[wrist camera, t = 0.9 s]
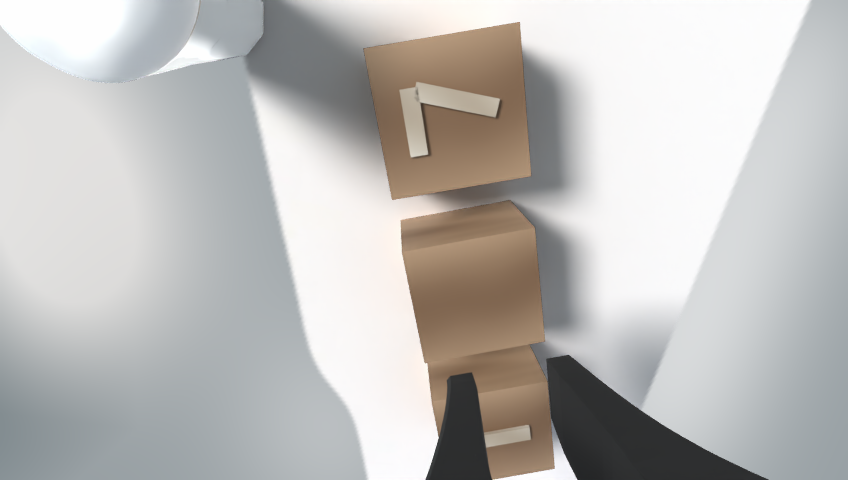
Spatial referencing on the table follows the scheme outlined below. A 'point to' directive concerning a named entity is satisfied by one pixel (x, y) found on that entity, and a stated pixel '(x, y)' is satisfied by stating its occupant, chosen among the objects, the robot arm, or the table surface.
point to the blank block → (473, 280)
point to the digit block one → (504, 407)
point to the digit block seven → (451, 110)
